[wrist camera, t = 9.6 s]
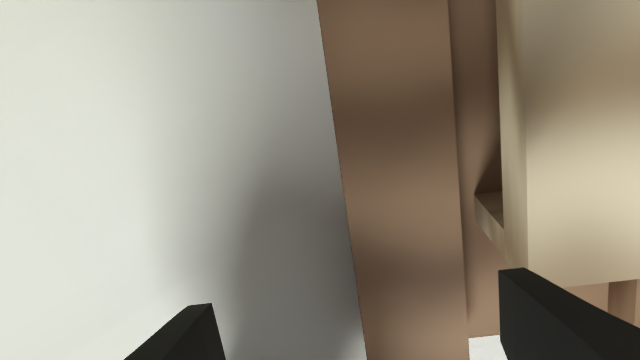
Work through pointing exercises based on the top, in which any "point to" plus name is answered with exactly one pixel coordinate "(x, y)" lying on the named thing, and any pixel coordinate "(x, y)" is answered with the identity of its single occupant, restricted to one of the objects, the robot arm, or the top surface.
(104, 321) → the top surface
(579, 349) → the robot arm
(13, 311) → the top surface
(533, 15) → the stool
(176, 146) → the top surface
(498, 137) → the board
